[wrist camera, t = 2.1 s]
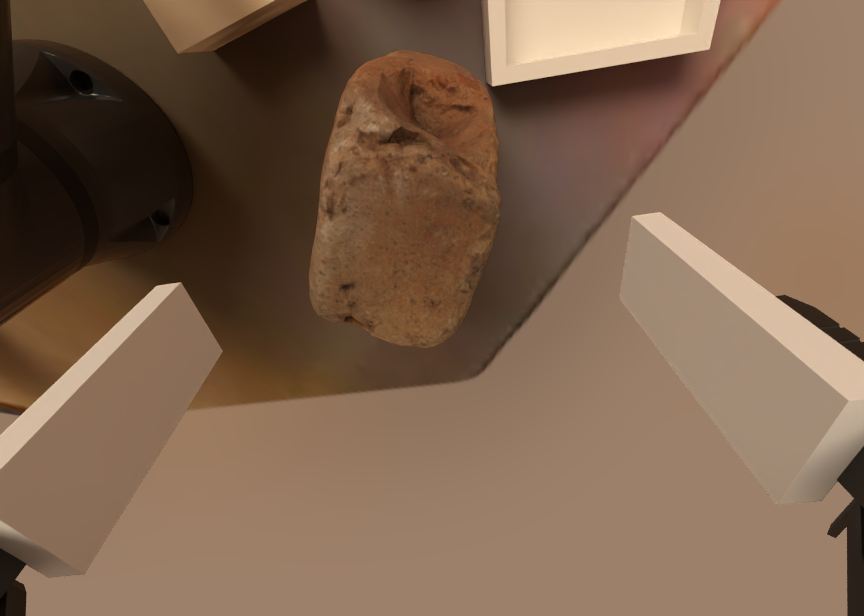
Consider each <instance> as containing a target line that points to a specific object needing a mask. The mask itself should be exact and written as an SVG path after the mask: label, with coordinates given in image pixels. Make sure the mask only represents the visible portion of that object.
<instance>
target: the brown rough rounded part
mask: <svg viewBox="0 0 864 616" xmlns="http://www.w3.org/2000/svg"><path fill="white" fill-rule="evenodd" d="M498 147H499V143H498V138H497V129H496V121H495V116H494V110H493V106H492V102H491V99H490V96H489V93H488V91H487V89H486V88H485V87H484V85H483V84H482V83H481V82H480V81H479V80H478V79H477V77H475V76H474V75H472V74H471V73H470V72H469V71H468V70H466V69H465V68H463V67H461V66H459V65H457V64H455V63H453V62H451V61H448V60H445V59H442V58H439V57H436V56H433V55H429V54H426V53H421V52H416V51H408V50H398V51H394V52H392V53H390V54H387V55H386V56H384V57H380V58H376V59H374V60H372V61H369V62H366V63H365V64H363V65H362V66H361V67H359V68H358V69H357V70H356V71H355V73H354V74H353V75H352V77H351V78H350V79H349V80H348V82H347V85H346V87H345V89H344V92H343V93H342V96H341V99H340V102H339V106H338V109H337V112H336V115H335V119H334V127H333V130H332V133H331V136H330V139H329V143H328V146H327V149H326V152H325V157H324V162H323V167H322V172H321V182H320V195H319V209H318V218H317V226H316V234H315V239H314V243H313V248H312V255H311V262H310V269H309V295H310V300H311V303H312V306H313V308H314V310H315V311H316V313H317V315H319V316H320V317H322V318H324V319H326V320H328V321H331V322H334V323H336V322H341V321H342V322H345V323H349V322H350V323H352V324H354V325H356V326H359V327H361V328H363V329H365V330H367V331H369V332H370V333H371V335H372V336H375V337H377V338H380V339H382V340H385V341H387V342H390V343H393V344H396V345H399V346H412V347H421V348H429V347H434V346H436V345H438V344H440V343H442V342H444V341H446V340H447V339H448V338H449V337H450V336H452V335H453V334H454V333H456V332H457V330H458V328H459V327H460V325H461V323H462V321H463V319H464V317H465V316H466V314H467V312H468V309H469V306H470V303H471V300H472V297H473V294H474V292H475V290H476V287H477V285H478V283H479V281H480V279H481V276H482V274H483V271H484V268H485V266H486V263H487V261H488V258H489V255H490V252H491V248H492V245H493V241H494V238H495V235H496V232H497V228H498V223H499V219H500V210H501V198H500V192H499V191H498V186H497V183H496V176H497V170H498V157H497V153H498Z"/></svg>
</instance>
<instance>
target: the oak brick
mask: <svg viewBox="0 0 864 616" xmlns="http://www.w3.org/2000/svg"><path fill="white" fill-rule="evenodd" d="M143 1H144V3H145V4H146V6H147V7H148V9H149V10H150V12H151V13H152V15H153V17H154V18H155V20H156V21H157V23H158V24H159V26H160V27H161V29H162V30H163V32H164V33H165V35H166V36H167V38H168V40H169V41H170V43H171V44H172V46H173V47H174V49H175V50H176V52H177V53H178V54H179V53H192V52H204V51H214V50H216V49H218V48H219V47H221V46H223V45H225V44H227V43H229V42H231V41H232V40H234V39H236V38H238V37H240V36H242V35H244V34H245V33H247V32H249V31H251V30H253V29H255V28H257V27H258V26H260V25H262V24H264V23H266V22H268V21H270V20H271V19H273V18H275V17H277V16H279V15H281V14H283V13H284V12H286V11H288V10H290V9H292V8H294V7H296V6H297V5H299V4H301V3H303V2H305V1H307V0H143Z"/></svg>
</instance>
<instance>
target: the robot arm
mask: <svg viewBox="0 0 864 616" xmlns="http://www.w3.org/2000/svg"><path fill="white" fill-rule="evenodd" d="M192 193H193V184H192V175H191V170H190V165H189V162H188V159H187V156H186V153H185V151H184V148H183V146H182V144H181V142H180V140H179V138H178V136H177V134H176V132H175V131H174V129H173V127H172V126H171V124H170V123H169V121H168V120H167V119H166V117H165V116H164V115H163V113H162V112H161V111H160V109H159V108H158V107H157V106H156V105H155V104H154V102H153V101H152V100H151V99H150V98H149V97H148V96H147V95H146V94H145V93H144V92H143V91H142V90H141V89H140V88H139V87H138V86H136V85H135V84H134V83H133V82H132V81H131V80H129V79H128V78H127V77H125V76H124V75H123V74H121V73H120V72H119V71H117V70H116V69H114V68H113V67H111V66H110V65H108V64H107V63H105V62H103V61H101V60H100V59H98V58H96V57H94V56H92V55H90V54H88V53H86V52H83V51H81V50H78V49H76V48H73V47H70V46H67V45H63V44H60V43H56V42H51V41H44V40H31V39H29V40H12V31H11V10H10V0H0V326H1V325H3V324H4V323H5V322H7V321H8V320H10V319H11V318H12V317H14V316H15V315H17V314H18V313H19V312H21V311H22V310H24V309H25V308H27V307H28V306H29V305H31V304H32V303H34V302H35V301H36V300H38V299H39V298H41V297H42V296H43V295H45V294H46V293H48V292H49V291H50V290H52V289H53V288H55V287H56V286H57V285H59V284H60V283H62V282H63V281H65V280H66V279H67V278H69V277H70V276H71V275H73V274H74V273H76V272H77V271H79V270H80V269H81V268H83V267H85V266H89V265H93V264H98V263H102V262H106V261H110V260H115V259H119V258H123V257H127V256H132V255H136V254H139V253H142V252H145V251H147V250H149V249H151V248H153V247H155V246H157V245H158V244H160V243H161V242H162V241H164V240H165V239H166V238H167V237H169V236H170V235H171V234H172V233H174V232H175V231H176V230H177V229H178V228H179V227H180V225H181V224H182V223H183V221H184V220H185V218H186V216H187V214H188V212H189V209H190V206H191V201H192ZM619 299H620V300H621V302H622V303H623V304H624V306H625V307H626V308H627V309H628V311H629V312H630V313H631V315H632V316H633V317H634V319H635V320H636V321H637V323H638V324H639V325H640V327H641V328H642V329H643V331H644V332H645V333H646V335H647V336H648V337H649V338H650V340H651V341H652V342H653V344H654V345H655V346H656V348H657V349H658V350H659V352H660V353H661V354H662V356H663V357H664V358H665V360H666V361H667V362H668V363H669V365H670V366H671V367H672V369H673V370H674V371H675V373H676V374H677V375H678V377H679V378H680V379H681V380H682V382H683V383H684V385H685V386H686V387H687V388H688V390H689V391H690V392H691V394H692V395H693V396H694V398H695V399H696V400H697V402H698V403H699V404H700V405H701V407H702V408H703V409H704V411H705V412H706V413H707V415H708V416H709V417H710V419H711V420H712V421H713V423H714V424H715V425H716V427H717V428H718V429H719V431H720V432H721V433H722V434H723V436H724V437H725V438H726V440H727V441H728V442H729V444H730V445H731V446H732V448H733V449H734V450H735V452H736V453H737V454H738V456H739V457H740V458H741V459H742V461H743V462H744V463H745V465H746V466H747V467H748V469H749V470H750V471H751V473H752V474H753V475H754V477H755V478H756V479H757V480H758V482H759V483H760V484H761V486H762V487H763V488H764V490H765V491H766V492H767V494H768V495H769V496H770V498H771V499H772V500H773V502H774V503H775V504H776V505H786V504H796V503H806V502H816V501H822V500H823V499H824V498H825V496H826V495H827V494H828V493H829V491H830V490H831V489H832V488H833V486H834V485H835V484H836V483H837V482H839V483H840V484H841V485H842V486H843V487H844V488H845V489H846V490H847V491H848V492H849V493H850V494H851V495H852V497H853V498H854V499H853V500H852V502H851V503H850V504H849V505H848V506H847V507H846V508H845V509H844V511H843V512H842V513H841V514H840V515H839V516H838V517H837V518H836V520H835V521H834V522H833V523H832V524H831V526H830V528H829V531H828V533H827V534H828V535H830V536H832V537H835V538H836V537H837V536H838V535H839V534H840V533H841V532H842V531H843V530H844V528H846V527H847V586H848V587H847V594H848V595H847V596H848V597H847V602H848V616H864V342H860V340H859V339H860V338H859V337H857V336H856V335H854V334H853V333H852V332H850V331H849V330H847V329H846V328H840V327H839V324H838V323H837V322H836V321H834V320H833V319H831V318H829V317H828V316H827V315H825V314H824V313H822V312H821V311H820V310H818V309H817V308H815V307H813V306H810V305H808V304H805V303H803V302H800V301H798V300H796V299H793V298H791V297H789V296H786V295H782V296H774V295H772V294H771V293H770V292H768V291H767V290H766V289H764V288H763V287H762V286H760V285H759V284H757V283H756V282H755V281H753V280H752V279H751V278H749V277H748V276H747V275H745V274H744V273H742V272H741V271H740V270H738V269H737V268H736V267H734V266H733V265H732V264H730V263H729V262H727V261H726V260H725V259H723V258H722V257H721V256H719V255H718V254H717V253H715V252H714V251H712V250H711V249H710V248H708V247H707V246H706V245H704V244H703V243H702V242H700V241H699V240H697V239H696V238H695V237H693V236H692V235H691V234H689V233H688V232H687V231H685V230H684V229H683V228H681V227H680V226H678V225H677V224H676V223H674V222H673V221H672V220H670V219H669V218H668V217H666V216H665V215H663V214H662V213H661V212H658V213H651V214H644V215H638V216H632V218H631V225H630V231H629V238H628V244H627V251H626V257H625V263H624V270H623V276H622V283H621V289H620V295H619ZM222 352H223V351H222V349H221V347H220V346H219V344H218V343H217V341H216V339H215V338H214V336H213V334H212V333H211V331H210V329H209V328H208V326H207V324H206V323H205V321H204V320H203V318H202V316H201V315H200V313H199V311H198V310H197V308H196V306H195V305H194V303H193V301H192V300H191V298H190V296H189V295H188V293H187V292H186V290H185V288H184V287H183V285H182V283H181V282H179V283H172V284H166V285H159V286H156V287H155V288H154V289H153V290H152V291H151V292H150V293H148V294H147V295H146V296H145V297H144V298H143V299H142V300H141V301H140V302H139V303H138V304H137V305H136V306H135V307H134V308H133V309H132V310H131V311H130V312H129V313H128V314H126V315H125V316H124V317H123V318H122V319H121V320H120V321H119V322H118V323H117V324H116V325H115V326H114V327H113V328H112V329H111V330H110V331H109V332H108V333H107V334H106V335H104V336H103V337H102V338H101V339H100V340H99V341H98V342H97V343H96V344H95V345H94V346H93V347H92V348H91V349H90V350H89V351H88V352H87V353H86V354H85V355H84V356H83V357H81V358H80V359H79V360H78V361H77V362H76V363H75V364H74V365H73V366H72V367H71V368H70V369H69V370H68V371H67V372H66V373H65V374H64V375H63V376H62V377H61V378H59V379H58V380H57V381H56V382H55V383H54V384H53V385H52V386H51V387H50V388H49V389H48V390H47V391H46V392H45V393H44V394H43V395H42V396H41V397H40V398H39V399H37V400H36V401H35V402H34V403H33V404H32V405H31V406H30V407H29V408H28V409H27V410H26V411H25V412H24V413H23V414H22V415H21V416H20V417H19V418H18V419H17V420H16V421H15V422H13V423H12V424H11V425H10V426H9V427H8V428H7V429H6V430H5V431H4V432H3V433H2V434H1V435H0V616H26V590H25V587H24V584H22V583H20V582H18V581H16V580H15V579H16V578H17V576H18V575H19V573H20V572H21V570H22V569H23V568H24V566H25V565H28V566H29V567H31V568H33V569H34V570H36V571H38V572H40V573H41V574H43V575H45V576H46V577H48V578H52V577H61V576H71V575H82V574H85V573H86V571H87V570H88V568H89V566H90V565H91V563H92V562H93V560H94V558H95V557H96V555H97V554H98V552H99V550H100V549H101V547H102V545H103V544H104V542H105V541H106V539H107V537H108V536H109V534H110V532H111V531H112V529H113V528H114V526H115V524H116V523H117V521H118V520H119V518H120V516H121V515H122V513H123V511H124V510H125V508H126V507H127V505H128V504H129V502H130V500H131V499H132V497H133V495H134V494H135V492H136V491H137V489H138V487H139V486H140V484H141V483H142V481H143V479H144V478H145V476H146V474H147V473H148V471H149V470H150V468H151V466H152V465H153V463H154V462H155V460H156V458H157V457H158V455H159V453H160V452H161V450H162V449H163V447H164V445H165V444H166V442H167V440H168V439H169V437H170V435H171V434H172V433H173V431H174V429H175V428H176V426H177V424H178V423H179V421H180V419H181V418H182V416H183V415H184V413H185V412H186V410H187V408H188V407H189V405H190V404H191V402H192V400H193V399H194V397H195V395H196V394H197V392H198V391H199V389H200V387H201V386H202V384H203V383H204V381H205V379H206V378H207V376H208V374H209V373H210V371H211V370H212V368H213V366H214V365H215V363H216V362H217V360H218V358H219V357H220V355H221V354H222Z"/></svg>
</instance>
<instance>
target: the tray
mask: <svg viewBox="0 0 864 616" xmlns="http://www.w3.org/2000/svg"><path fill="white" fill-rule="evenodd" d="M719 4H720V0H481V11H482V28H483V45H484V62H485V79H486V82H487V83H488V84H489V85H491V86H498V85H503V84H509V83H515V82H521V81H527V80H533V79H539V78H544V77H550V76H556V75H562V74H568V73H574V72H580V71H586V70H591V69H597V68H603V67H609V66H615V65H621V64H627V63H632V62H638V61H644V60H650V59H656V58H662V57H668V56H674V55H679V54H685V53H691V52H697V51H703V50H709V49H710V45H711V41H712V36H713V31H714V27H715V22H716V18H717V13H718V9H719Z"/></svg>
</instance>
